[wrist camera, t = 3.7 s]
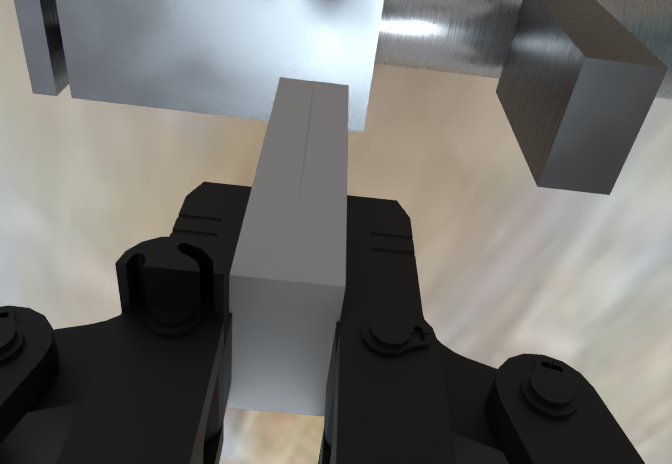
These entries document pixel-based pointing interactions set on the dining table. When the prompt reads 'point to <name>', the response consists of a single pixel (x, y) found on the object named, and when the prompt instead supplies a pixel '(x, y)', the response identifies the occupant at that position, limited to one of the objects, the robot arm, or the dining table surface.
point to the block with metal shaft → (548, 72)
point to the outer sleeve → (200, 51)
